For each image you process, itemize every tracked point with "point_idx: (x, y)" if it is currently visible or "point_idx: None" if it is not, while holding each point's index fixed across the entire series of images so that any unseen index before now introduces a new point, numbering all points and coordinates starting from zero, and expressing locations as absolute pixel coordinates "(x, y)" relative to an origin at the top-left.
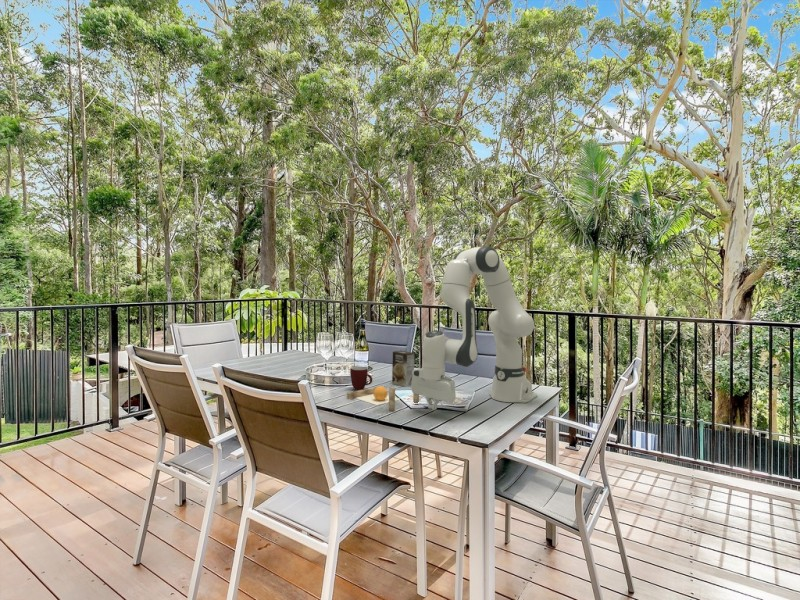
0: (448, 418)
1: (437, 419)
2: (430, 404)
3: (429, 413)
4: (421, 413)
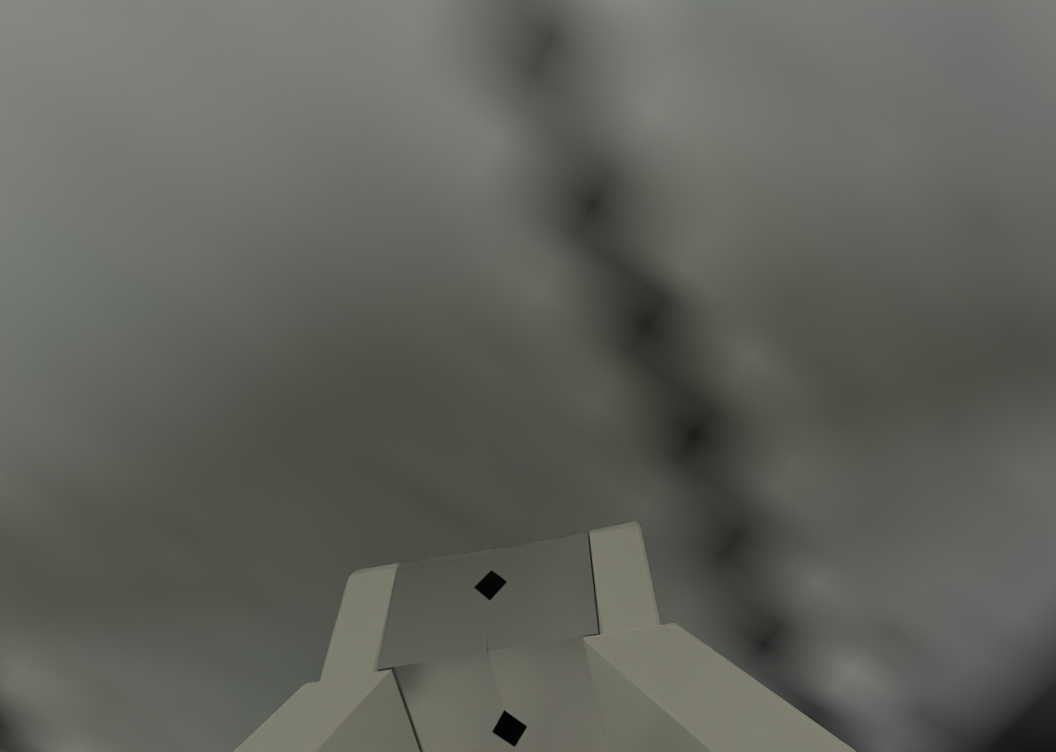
0: (7, 642)
1: (7, 346)
2: (554, 664)
3: (645, 474)
4: (792, 262)
